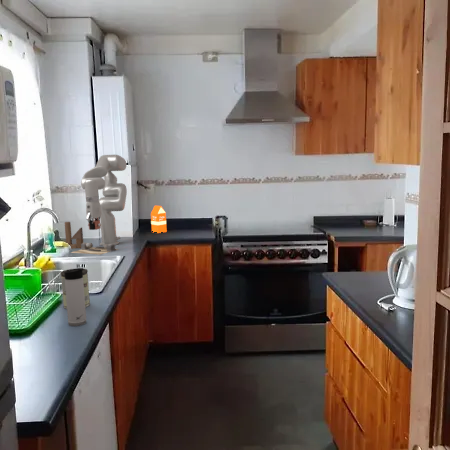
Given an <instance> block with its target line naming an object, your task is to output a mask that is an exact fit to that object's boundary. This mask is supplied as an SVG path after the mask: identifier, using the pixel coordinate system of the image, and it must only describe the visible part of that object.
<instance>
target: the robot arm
mask: <svg viewBox="0 0 450 450" xmlns="http://www.w3.org/2000/svg"><path fill="white" fill-rule="evenodd" d="M126 169H127V161H126V159H125V158H124V157H122V156H121V155H118V154H104V155H101V156H100V157H99V159H98V160H97V162H96V165H95V167H93V168H91V169H90V170H87V171H86V172H85V173H84V174H83V177H82V179H81V182H80V185H81V186H80V187H81V189H83V190H84V193H85V203H86V204H85V210H86V220H87V222H89V226H90V231H96V230H95V225H94V220H100V224H101V226H100V227H101V228H100V229H101V230H100V233H101V234H100V236H101V242H99V246H100V247H103V246H104V244H115V246H117V245H119V244H120V242H119V241H118V240H121V237H120V236H117V230H116V229H117V227H116V225H117V224H116V218H115V217H116V216H115V214H113V212H122V211H123V210H125V208H126V207H125V206H126V202H127V201H126V199H127V194H128V193H127V192H128V191H127V190H128V189H127V185H126V184H125V183H121V182H120V183H118V177H117V176H116V175H115V174H114V173H113V172H121V171H122V172H123V171H125V170H126ZM99 190H100V191H101V190H102V196H103V197H100V196H99ZM99 197H100V198H99ZM89 226H88V227H89Z"/></svg>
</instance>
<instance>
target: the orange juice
mask: <svg viewBox="0 0 450 450" xmlns="http://www.w3.org/2000/svg"><path fill="white" fill-rule="evenodd" d="M150 224H151V232H152V231H153V232H152V233H154V232H157V233H156V234H161V232H163V233H167V231H168V230H167V212H166V211H165V210H164V208H163V207H162V205H154V206H153V209H152V210H151V212H150Z"/></svg>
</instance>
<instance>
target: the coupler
mask: <svg viewBox="0 0 450 450" xmlns="http://www.w3.org/2000/svg"><path fill="white" fill-rule="evenodd" d="M87 222H88V221H87ZM94 225H95V230H94V231H96V230H100V229H101V221H100V220H95V219H94ZM87 226H88V231H89V230H90V226H89V222H88V223H87ZM90 231H91V230H90Z"/></svg>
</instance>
